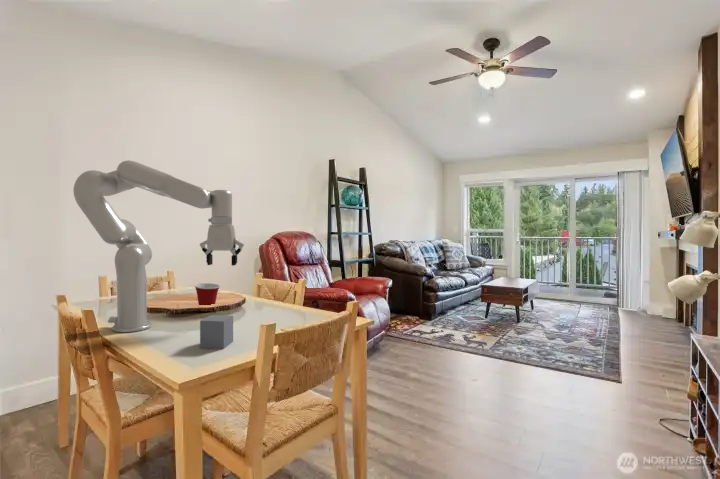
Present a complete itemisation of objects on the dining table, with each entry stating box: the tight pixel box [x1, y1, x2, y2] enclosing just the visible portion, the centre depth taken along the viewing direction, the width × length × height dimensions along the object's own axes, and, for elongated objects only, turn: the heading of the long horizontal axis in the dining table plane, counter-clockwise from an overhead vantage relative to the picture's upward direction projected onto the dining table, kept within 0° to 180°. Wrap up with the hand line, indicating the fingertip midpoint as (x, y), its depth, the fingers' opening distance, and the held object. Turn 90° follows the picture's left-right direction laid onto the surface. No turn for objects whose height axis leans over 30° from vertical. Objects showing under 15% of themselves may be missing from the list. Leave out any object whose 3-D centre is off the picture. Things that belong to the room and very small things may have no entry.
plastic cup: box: [194, 282, 221, 306], centre depth 172 cm, size 11×11×12 cm
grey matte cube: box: [199, 314, 234, 350], centre depth 125 cm, size 8×8×9 cm
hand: (221, 265), depth 151 cm, fingers open, 9 cm apart
